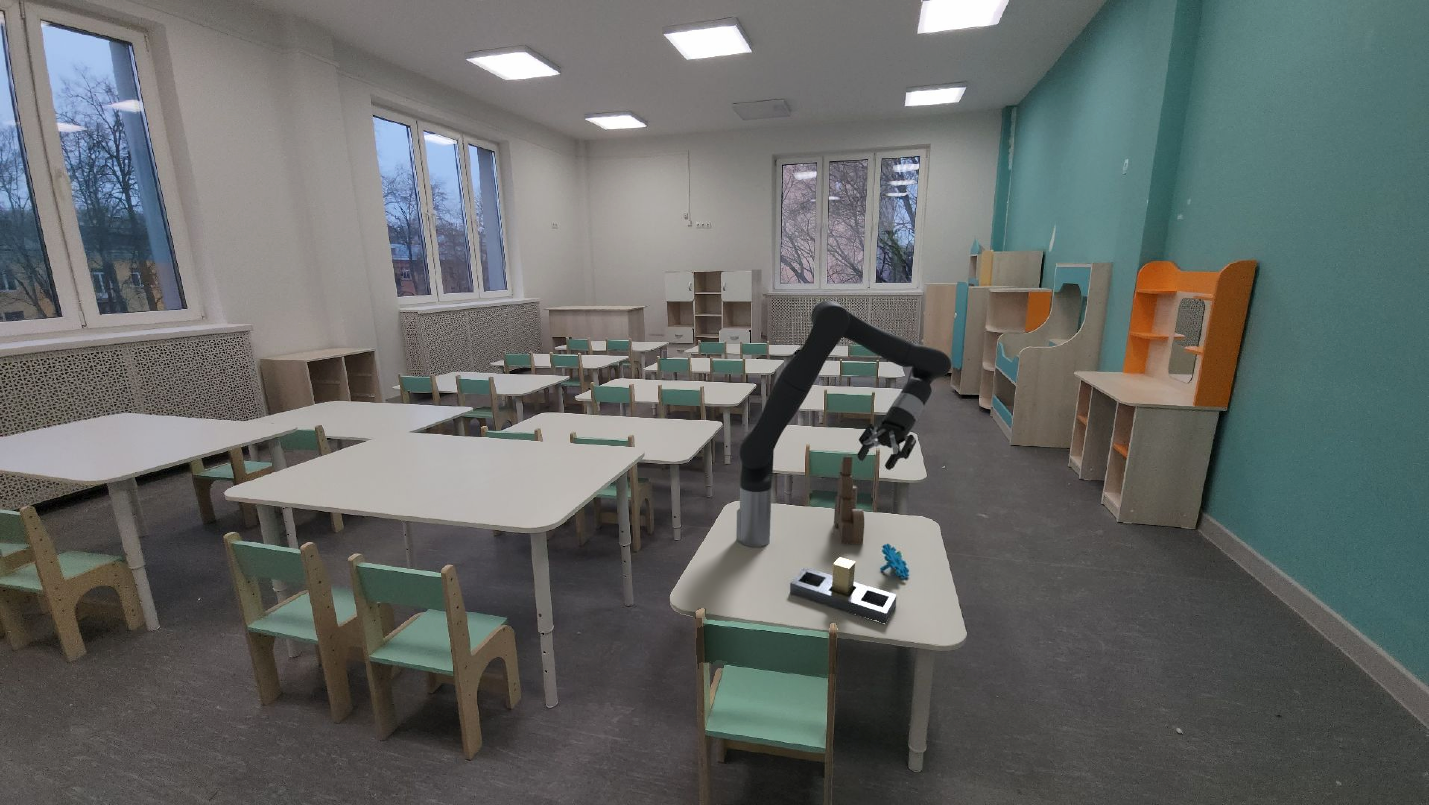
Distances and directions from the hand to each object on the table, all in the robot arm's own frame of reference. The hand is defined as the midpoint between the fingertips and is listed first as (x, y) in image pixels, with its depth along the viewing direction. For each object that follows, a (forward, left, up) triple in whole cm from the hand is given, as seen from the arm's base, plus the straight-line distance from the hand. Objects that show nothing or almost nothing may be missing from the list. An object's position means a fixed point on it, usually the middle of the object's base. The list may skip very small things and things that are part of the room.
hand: (873, 463), depth 149 cm
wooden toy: (-12, +19, -31) cm, 38 cm away
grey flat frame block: (-1, -17, -31) cm, 35 cm away
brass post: (-1, -17, -31) cm, 35 cm away
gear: (+7, +3, -31) cm, 32 cm away
